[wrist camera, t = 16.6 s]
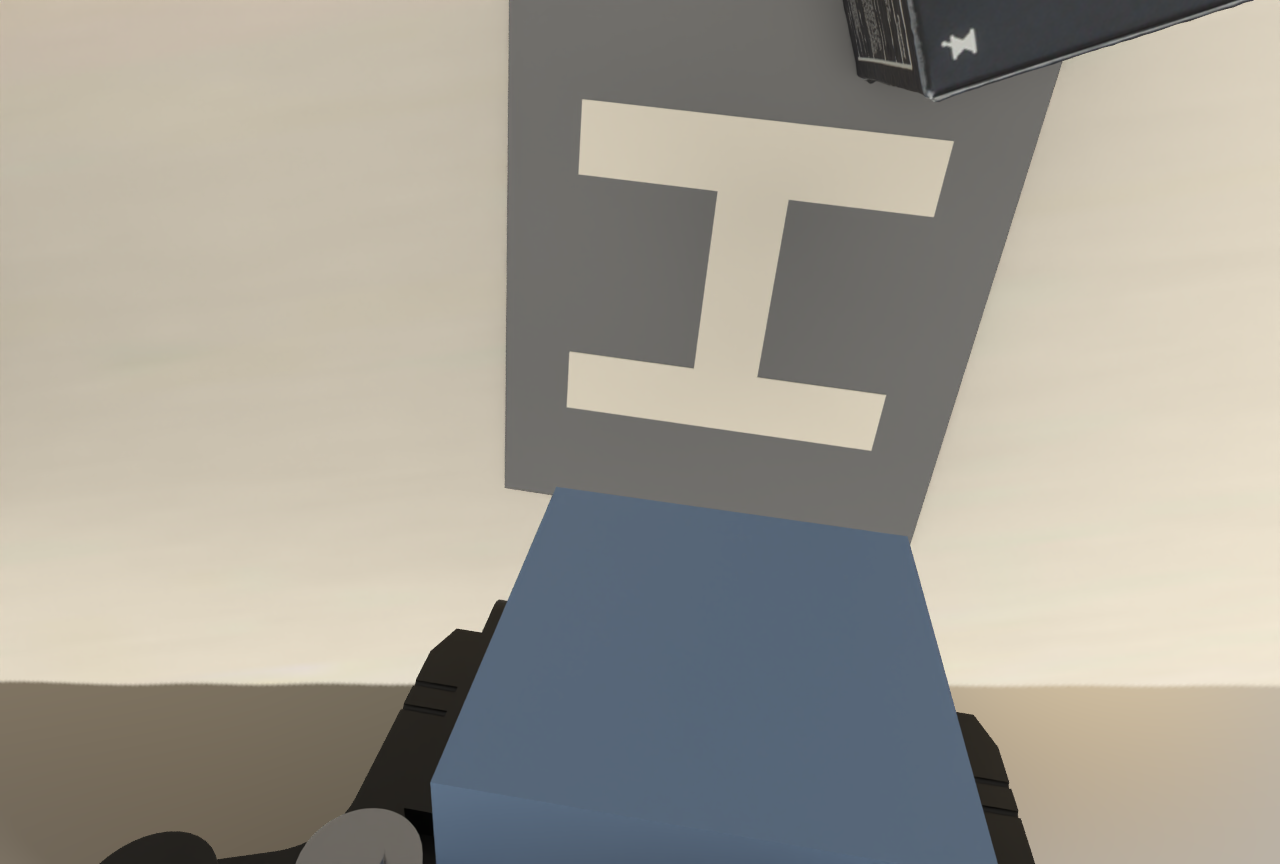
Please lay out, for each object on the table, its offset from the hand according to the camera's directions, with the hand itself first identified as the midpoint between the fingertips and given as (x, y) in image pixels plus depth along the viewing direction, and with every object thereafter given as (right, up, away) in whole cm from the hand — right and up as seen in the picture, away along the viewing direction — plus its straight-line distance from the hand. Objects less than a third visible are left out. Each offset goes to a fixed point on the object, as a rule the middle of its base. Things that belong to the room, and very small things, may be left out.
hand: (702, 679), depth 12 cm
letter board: (+3, +9, +17) cm, 19 cm away
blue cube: (0, 0, +1) cm, 1 cm away
